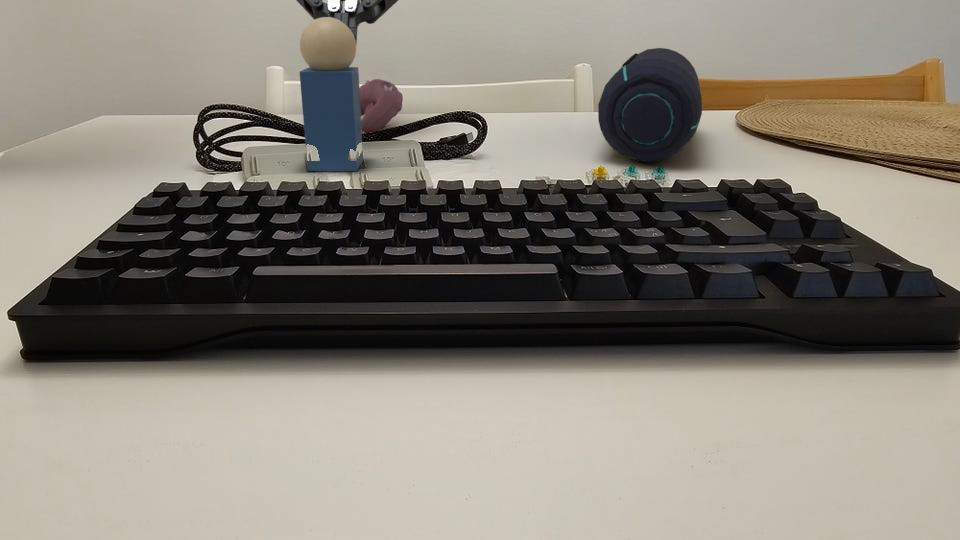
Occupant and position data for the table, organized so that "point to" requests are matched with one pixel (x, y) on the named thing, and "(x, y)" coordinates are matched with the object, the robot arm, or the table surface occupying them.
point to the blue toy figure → (330, 94)
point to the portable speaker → (651, 105)
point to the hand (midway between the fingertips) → (341, 48)
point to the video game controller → (378, 104)
